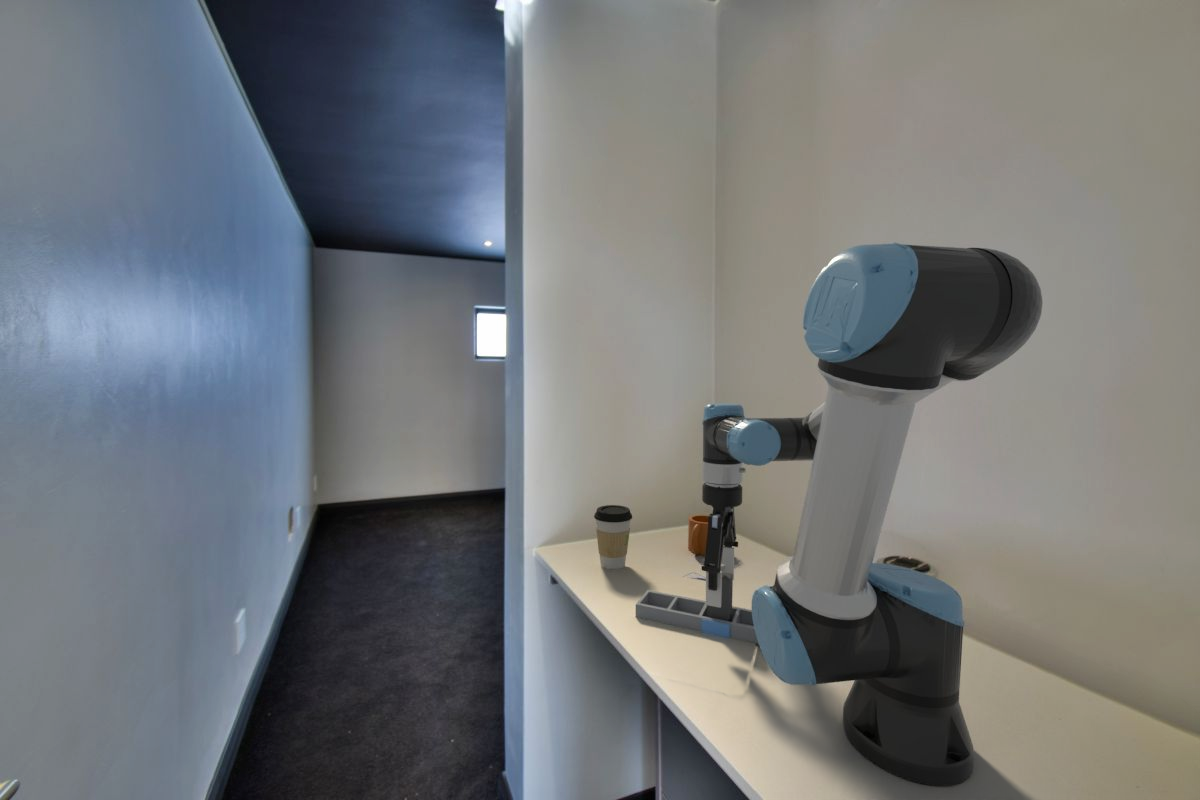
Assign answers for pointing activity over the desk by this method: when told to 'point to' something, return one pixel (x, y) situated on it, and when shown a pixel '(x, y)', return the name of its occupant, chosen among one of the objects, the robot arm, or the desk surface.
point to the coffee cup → (613, 535)
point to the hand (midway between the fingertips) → (720, 591)
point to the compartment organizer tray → (695, 616)
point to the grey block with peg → (724, 599)
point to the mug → (697, 534)
